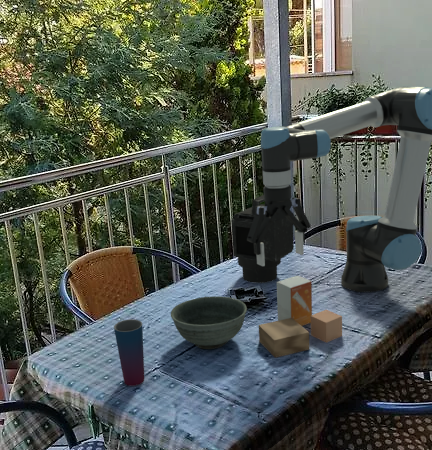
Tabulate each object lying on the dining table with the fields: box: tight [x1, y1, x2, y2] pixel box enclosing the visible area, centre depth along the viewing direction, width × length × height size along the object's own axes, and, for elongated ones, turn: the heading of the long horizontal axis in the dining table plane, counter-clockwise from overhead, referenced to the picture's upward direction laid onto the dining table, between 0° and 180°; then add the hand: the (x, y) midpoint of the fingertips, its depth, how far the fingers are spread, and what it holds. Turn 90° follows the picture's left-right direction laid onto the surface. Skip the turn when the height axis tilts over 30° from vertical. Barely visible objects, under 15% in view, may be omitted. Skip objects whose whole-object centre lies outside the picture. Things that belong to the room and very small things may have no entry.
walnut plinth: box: [258, 318, 310, 359], centre depth 158 cm, size 10×10×5 cm
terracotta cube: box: [310, 309, 343, 343], centre depth 162 cm, size 6×6×6 cm
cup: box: [113, 318, 145, 387], centre depth 144 cm, size 7×7×15 cm
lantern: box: [230, 194, 295, 284], centre depth 204 cm, size 15×18×30 cm
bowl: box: [170, 295, 248, 350], centre depth 162 cm, size 21×21×10 cm
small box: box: [276, 275, 313, 327], centre depth 169 cm, size 8×6×13 cm
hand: (280, 259), depth 165 cm, fingers open, 13 cm apart
